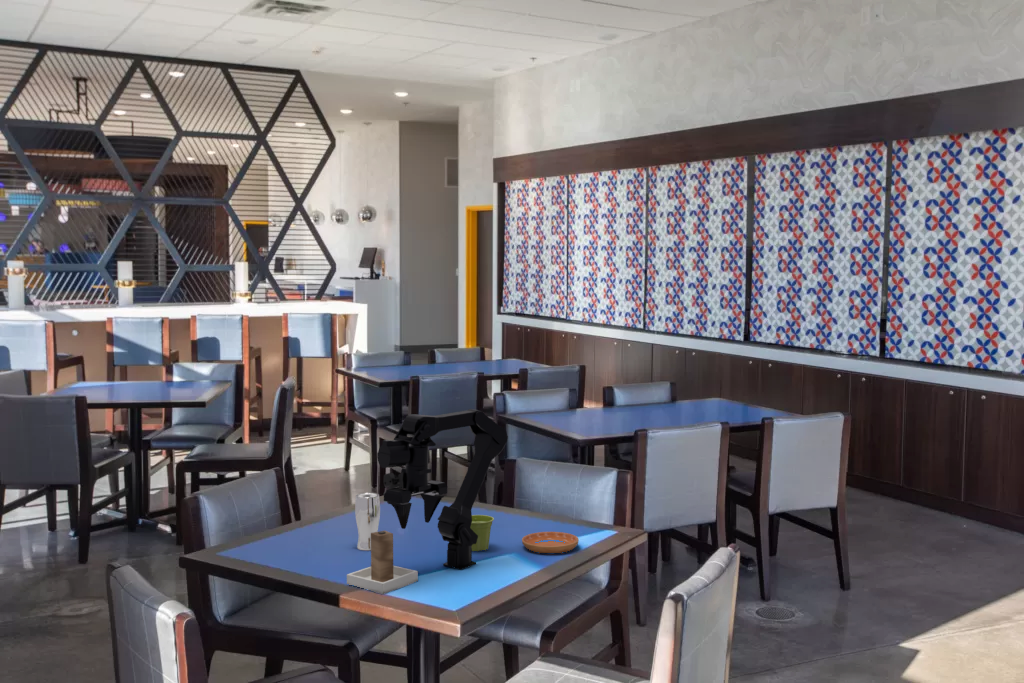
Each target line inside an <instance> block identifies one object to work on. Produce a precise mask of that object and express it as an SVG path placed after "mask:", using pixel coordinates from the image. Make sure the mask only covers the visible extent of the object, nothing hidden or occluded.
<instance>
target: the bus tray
mask: <svg viewBox="0 0 1024 683" xmlns="http://www.w3.org/2000/svg"><path fill="white" fill-rule="evenodd" d="M418 573H419V571H418V570H414V569H410V568H406V567H402V566H398V565H397V566H396V565H394V564H393V574H394V579H391V580H388V581H386V582H379V581H375V580H371V566H369V567H365V568H362V569H359V570H356V571H353V572H350V573H347V574H346V585H347V584H349V585H354V586H357V587H360V588H359V589H361V588H364V589H363V590H365V589H368V590H371V591H370V592H372V591H374V592H373V593H376V592H377V594H380V595H385V594H388V593H391V592H392V591H396V590H398V589H401V588H404V587H406V586H409V585H412V584H415V583H416V581H417V582H418V581H419V580H418V579H419V578H418V577H419V575H418ZM414 582H415V583H414ZM349 585H348V586H349ZM357 587H356V588H357ZM368 590H367V591H368Z"/></svg>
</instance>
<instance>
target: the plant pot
mask: <svg viewBox="0 0 1024 683" xmlns="http://www.w3.org/2000/svg"><path fill="white" fill-rule="evenodd" d="M494 519H495V518H494V517H493V516H490V515H488V514H487V515H486V514H485V515H484V514H472V523H471V527H470V528H471V529H472V530H473V531H474V532H475V533H476V534H477V535H478V539H477V543H476V544H473V545H472V552H474V551H477V552H479V551H482V550H485V551H487V550H489V546H490V536H491V530H492V525H493V522H494ZM486 549H487V550H486Z"/></svg>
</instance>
